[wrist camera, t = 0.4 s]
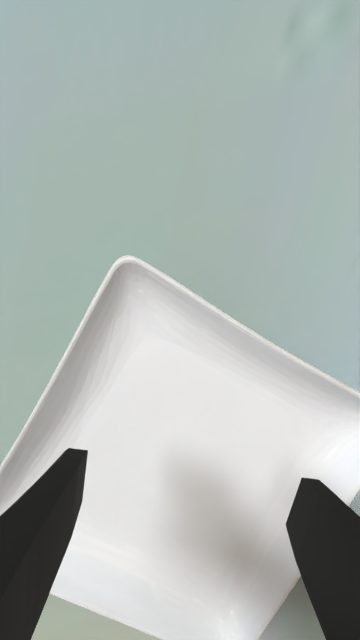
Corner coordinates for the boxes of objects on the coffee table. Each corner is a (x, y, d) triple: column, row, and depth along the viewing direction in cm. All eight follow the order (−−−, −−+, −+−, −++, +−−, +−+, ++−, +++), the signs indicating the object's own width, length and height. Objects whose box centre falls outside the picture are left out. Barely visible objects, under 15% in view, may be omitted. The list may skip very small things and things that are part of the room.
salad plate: (228, 622, 23) (240, 681, 19) (-21, 512, 20) (-57, 557, 17) (373, 400, 21) (413, 421, 18) (126, 253, 19) (119, 245, 15)
